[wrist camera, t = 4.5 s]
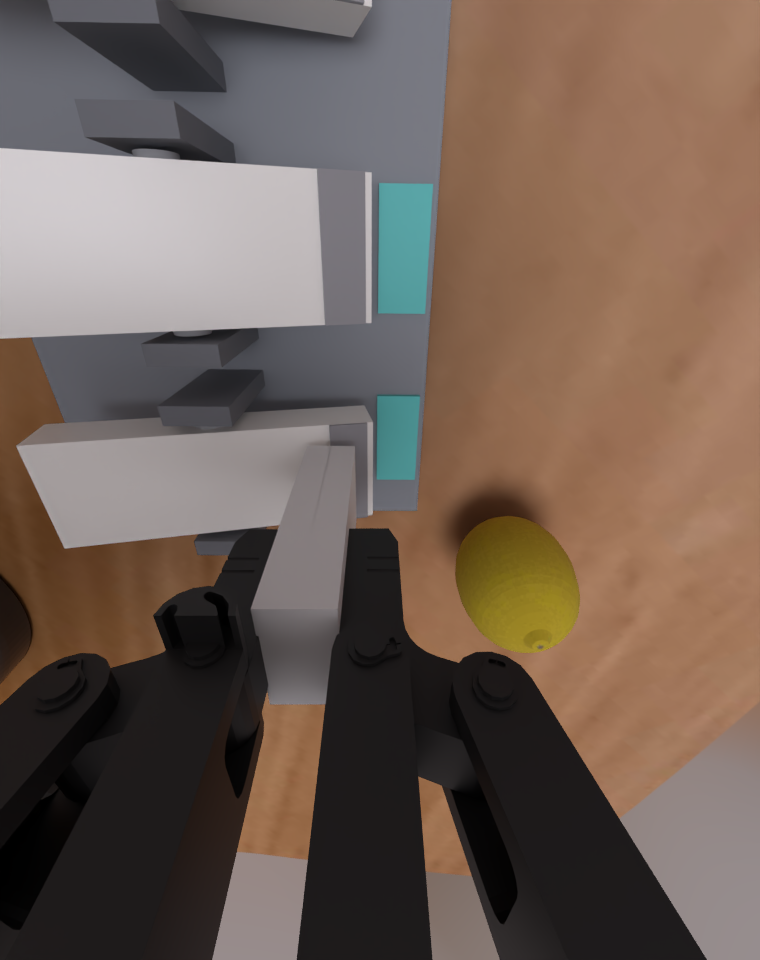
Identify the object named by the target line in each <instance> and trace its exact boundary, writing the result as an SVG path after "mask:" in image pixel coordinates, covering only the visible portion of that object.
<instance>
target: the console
mask: <svg viewBox="0 0 760 960" xmlns="http://www.w3.org/2000/svg"><path fill="white" fill-rule="evenodd" d="M450 15H451V0H372V7H371V9H370V11H369V12H368V14H367V15H366V17H365V19H364V20H363V22H362V23H361V25H360V27H359V28H358V30H357V31H356V33H355V35H354V36H353V37H347V36H340V35H334V34H328V33H322V32H315V31H309V30H303V29H297V28H290V27H284V26H278V25H272V24H265V23H259V22H253V21H247V20H240V19H234V18H228V17H222V16H215V15H209V14H203V13H196V12H190V11H184V10H179V9H178V8H177V7H176V6H175V5H174V3H173V2H172V1H171V0H0V148H8V149H23V150H38V151H53V152H69V153H84V154H99V155H114V156H130V157H133V154H132V150H134V149H158V150H166V151H171V152H175V153H178V154H179V155H180V160H191V161H206V162H221V163H236V164H252V165H267V166H282V167H297V168H312V169H317V168H323V169H338V170H353V171H365V172H372V309H371V323H366V324H351V325H327V326H326V325H313V326H289V327H265V328H241V329H217V330H212V333H211V334H208V335H202V336H191V337H183V336H175V335H174V333H173V331H170V332H146V333H122V334H98V335H74V336H50V337H31V338H32V341H33V343H34V346H35V348H36V351H37V353H38V356H39V358H40V361H41V363H42V366H43V368H44V371H45V373H46V376H47V378H48V381H49V383H50V386H51V388H52V391H53V393H54V396H55V399H56V401H57V404H58V406H59V409H60V411H61V414H62V416H63V419H64V421H65V423H74V422H91V421H108V420H125V419H142V418H159V417H160V418H161V421H162V425H163V426H208V427H232V426H233V425H234V424H235V423H236V421H237V420H238V419H239V418H240V416H241V415H242V414H243V413H244V412H260V411H277V410H294V409H311V408H328V407H344V406H361V405H364V406H365V408H366V409H367V411H368V413H369V415H370V417H371V419H372V421H373V511H417V502H418V487H419V472H420V457H421V443H422V428H423V413H424V398H425V384H426V369H427V354H428V339H429V325H430V310H431V295H432V280H433V266H434V251H435V236H436V221H437V207H438V192H439V177H440V162H441V148H442V133H443V118H444V103H445V89H446V74H447V59H448V44H449V30H450ZM266 528H267V527H258V528H248V529H239V530H230V531H221V532H212V533H203V534H198V536H197V537H196V539H195V541H194V543H195V547H196V550H197V554H198V555H229V554H230V552H231V550H232V547H233V545H234V543H235V542H236V541H237V540H238V539H239V538H240V537H241V536H243V535H244V534H245V533H246V532H247V531H248V530H249V529H266Z"/></svg>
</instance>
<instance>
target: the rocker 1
mask: <svg viewBox="0 0 760 960" xmlns="http://www.w3.org/2000/svg"><path fill="white" fill-rule="evenodd" d="M171 1H172V2H173V3H174V5H175V6H176V7H177V8H178V9H179V10H184V11H190V12H196V13H203V14H209V15H215V16H222V17H228V18H234V19H240V20H247V21H253V22H259V23H265V24H272V25H278V26H284V27H290V28H297V29H303V30H309V31H315V32H322V33H328V34H334V35H340V36H347V37H353V36H354V35H355V33H356V31H357V30H358V28H359V27H360V25H361V23H362V22H363V20H364V19H365V17H366V15H367V14H368V12H369V11H370V9H371V7H372V0H171Z"/></svg>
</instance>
